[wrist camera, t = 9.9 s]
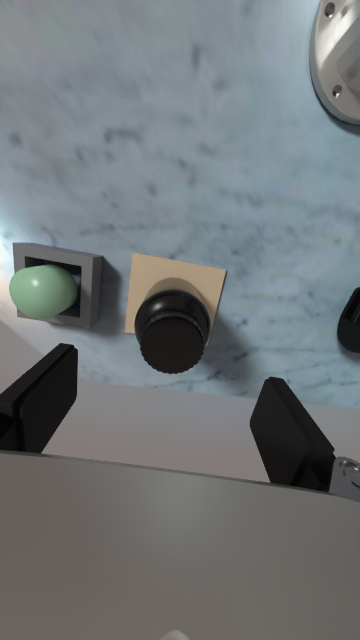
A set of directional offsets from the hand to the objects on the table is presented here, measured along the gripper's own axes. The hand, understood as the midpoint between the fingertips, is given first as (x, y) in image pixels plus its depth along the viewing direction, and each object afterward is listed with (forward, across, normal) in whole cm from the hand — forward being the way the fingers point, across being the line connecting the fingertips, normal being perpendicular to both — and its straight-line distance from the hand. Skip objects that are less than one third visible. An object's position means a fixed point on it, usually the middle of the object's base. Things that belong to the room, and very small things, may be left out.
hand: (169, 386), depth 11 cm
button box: (+17, +13, +1) cm, 22 cm away
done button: (+15, +13, +1) cm, 20 cm away
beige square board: (+17, 0, +1) cm, 17 cm away
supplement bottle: (+17, 0, +1) cm, 17 cm away
